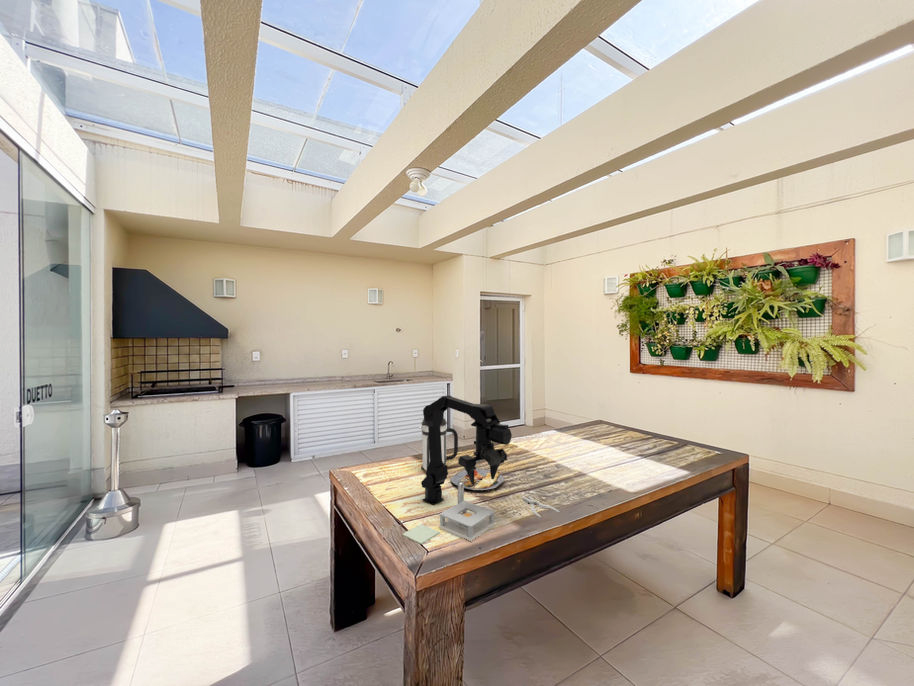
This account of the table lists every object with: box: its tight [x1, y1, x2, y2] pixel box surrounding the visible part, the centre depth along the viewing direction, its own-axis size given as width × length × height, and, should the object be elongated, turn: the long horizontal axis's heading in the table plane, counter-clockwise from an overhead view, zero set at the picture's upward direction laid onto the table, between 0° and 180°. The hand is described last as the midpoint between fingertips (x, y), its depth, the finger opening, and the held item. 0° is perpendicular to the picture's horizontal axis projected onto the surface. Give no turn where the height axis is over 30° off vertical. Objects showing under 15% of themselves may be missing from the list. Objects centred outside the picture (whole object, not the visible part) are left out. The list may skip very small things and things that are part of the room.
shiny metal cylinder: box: [457, 480, 465, 504], centre depth 144 cm, size 2×2×10 cm
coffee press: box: [419, 417, 459, 475], centre depth 186 cm, size 17×16×30 cm
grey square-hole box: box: [438, 500, 496, 542], centre depth 130 cm, size 14×14×5 cm
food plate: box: [450, 468, 506, 491], centre depth 171 cm, size 25×23×4 cm
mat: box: [401, 523, 441, 545], centre depth 124 cm, size 9×9×1 cm
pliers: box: [522, 495, 560, 518], centre depth 145 cm, size 10×2×15 cm
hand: (482, 481), depth 136 cm, fingers open, 9 cm apart
